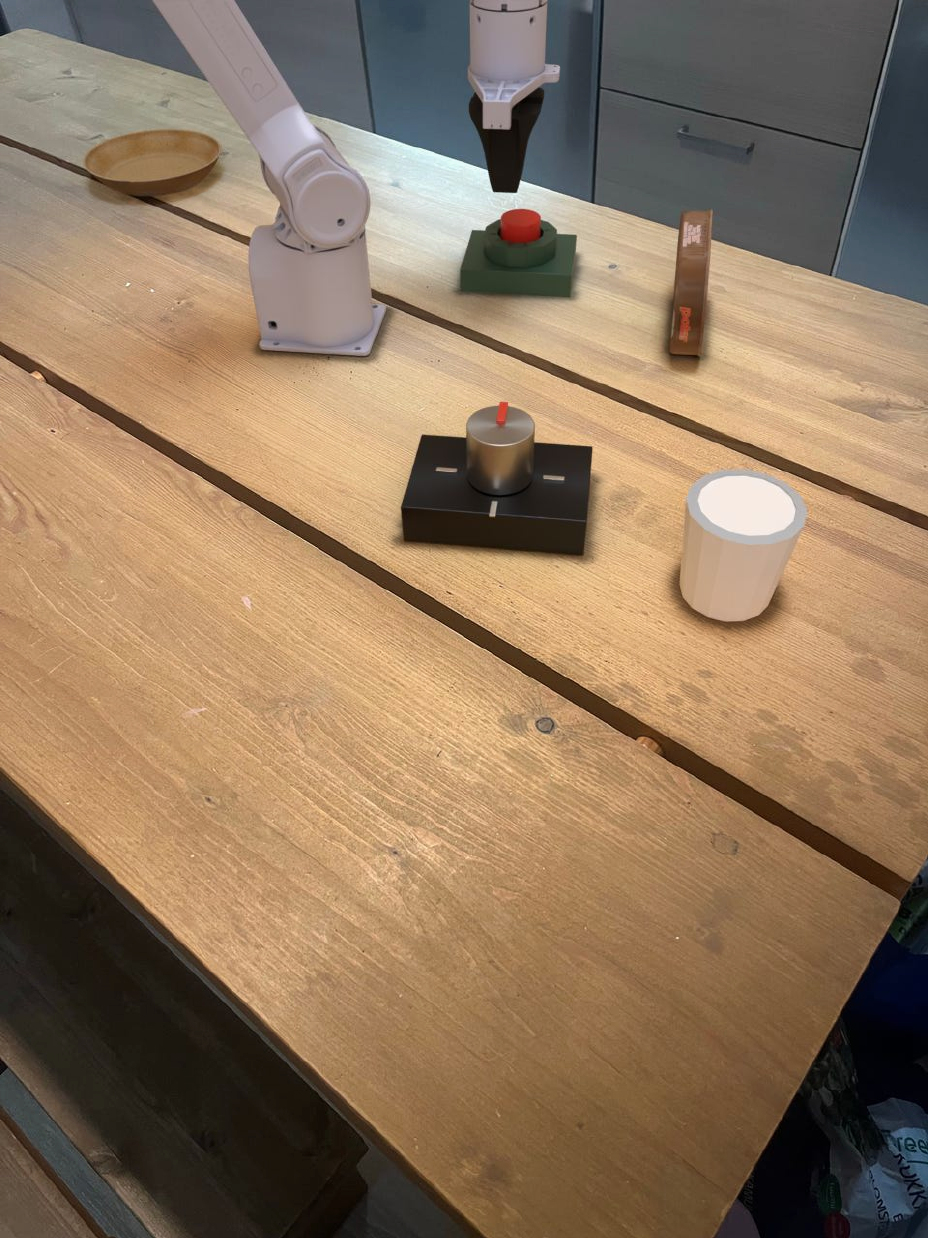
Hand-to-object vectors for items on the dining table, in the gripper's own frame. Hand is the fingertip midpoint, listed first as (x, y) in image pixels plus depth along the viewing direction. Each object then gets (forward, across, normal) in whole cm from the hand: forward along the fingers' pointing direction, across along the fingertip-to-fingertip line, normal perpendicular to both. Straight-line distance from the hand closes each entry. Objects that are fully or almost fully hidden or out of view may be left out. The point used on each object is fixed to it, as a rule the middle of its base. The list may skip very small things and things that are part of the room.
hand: (505, 189), depth 80 cm
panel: (+9, -30, -3) cm, 32 cm away
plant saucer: (+10, +22, +41) cm, 48 cm away
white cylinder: (+10, -36, -18) cm, 41 cm away
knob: (+6, -30, -3) cm, 31 cm away
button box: (+9, +4, -1) cm, 10 cm away
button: (+6, +4, -1) cm, 7 cm away
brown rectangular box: (+10, -4, -16) cm, 19 cm away
